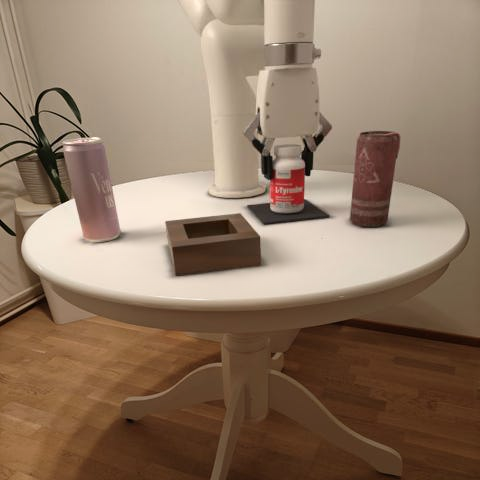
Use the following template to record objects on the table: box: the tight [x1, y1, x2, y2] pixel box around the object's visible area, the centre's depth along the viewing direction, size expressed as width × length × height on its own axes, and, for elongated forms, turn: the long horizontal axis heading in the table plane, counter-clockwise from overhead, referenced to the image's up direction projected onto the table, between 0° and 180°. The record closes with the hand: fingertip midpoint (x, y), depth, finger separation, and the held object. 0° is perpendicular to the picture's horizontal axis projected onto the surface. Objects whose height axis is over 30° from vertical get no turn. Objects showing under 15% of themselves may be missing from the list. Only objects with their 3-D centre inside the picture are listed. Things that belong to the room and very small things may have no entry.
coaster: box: [246, 198, 330, 226], centre depth 78 cm, size 12×12×1 cm
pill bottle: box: [269, 143, 306, 214], centre depth 75 cm, size 6×6×11 cm
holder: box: [164, 212, 262, 277], centre depth 60 cm, size 12×12×4 cm
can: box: [349, 130, 401, 228], centre depth 68 cm, size 6×6×14 cm
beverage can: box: [62, 137, 121, 243], centre depth 66 cm, size 6×6×15 cm
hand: (287, 175), depth 75 cm, fingers open, 6 cm apart
